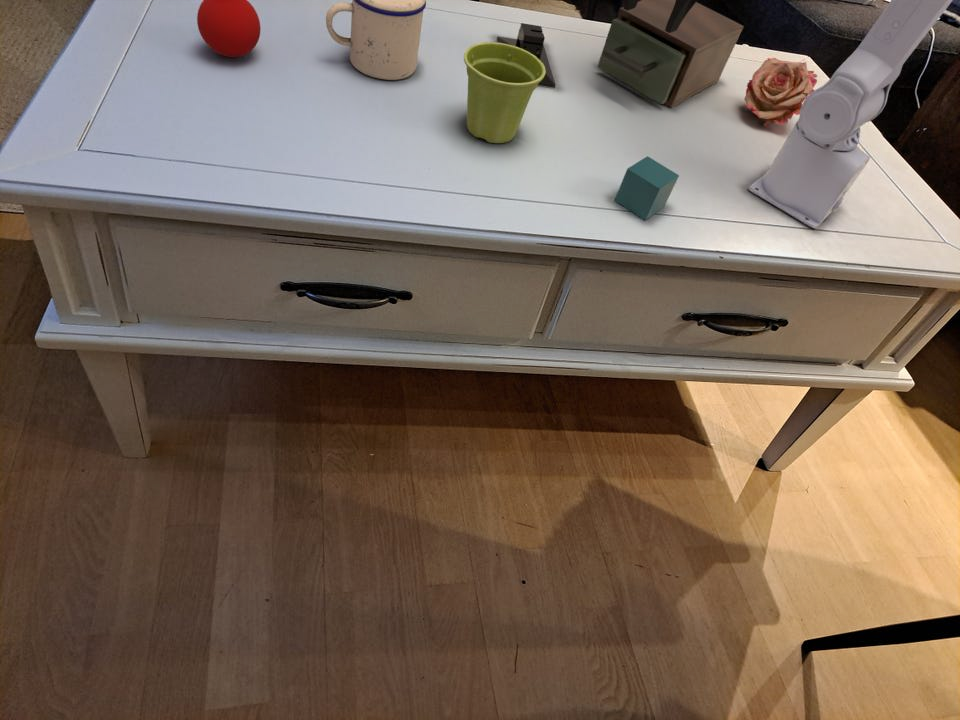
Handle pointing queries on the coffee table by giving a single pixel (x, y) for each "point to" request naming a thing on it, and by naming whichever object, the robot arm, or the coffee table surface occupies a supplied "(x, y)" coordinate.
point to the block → (646, 187)
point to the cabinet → (690, 42)
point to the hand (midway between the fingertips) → (649, 19)
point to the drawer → (642, 59)
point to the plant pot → (499, 88)
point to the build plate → (532, 48)
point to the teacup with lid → (382, 36)
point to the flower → (779, 90)
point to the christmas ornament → (229, 26)
